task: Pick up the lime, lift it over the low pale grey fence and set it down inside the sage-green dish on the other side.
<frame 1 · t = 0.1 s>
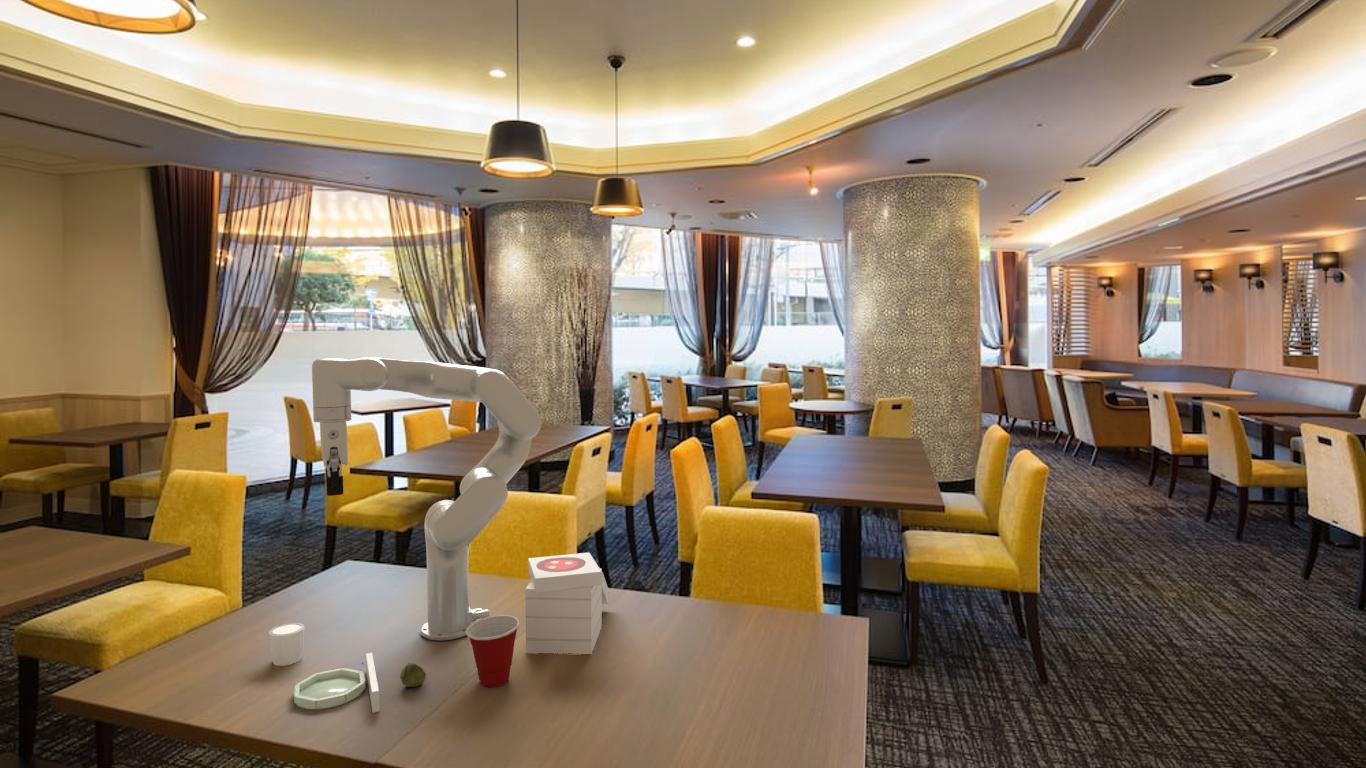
hand: (334, 490, 156), 37 cm above the table, tool pointing down, fingers open, 9 cm apart
plastic cup: (493, 681, 145), on the table
fence: (372, 690, 141), on the table
lime: (413, 687, 142), on the table
pizza boxes: (569, 630, 170), on the table
white cylinder: (288, 660, 154), on the table
dish: (330, 692, 140), on the table
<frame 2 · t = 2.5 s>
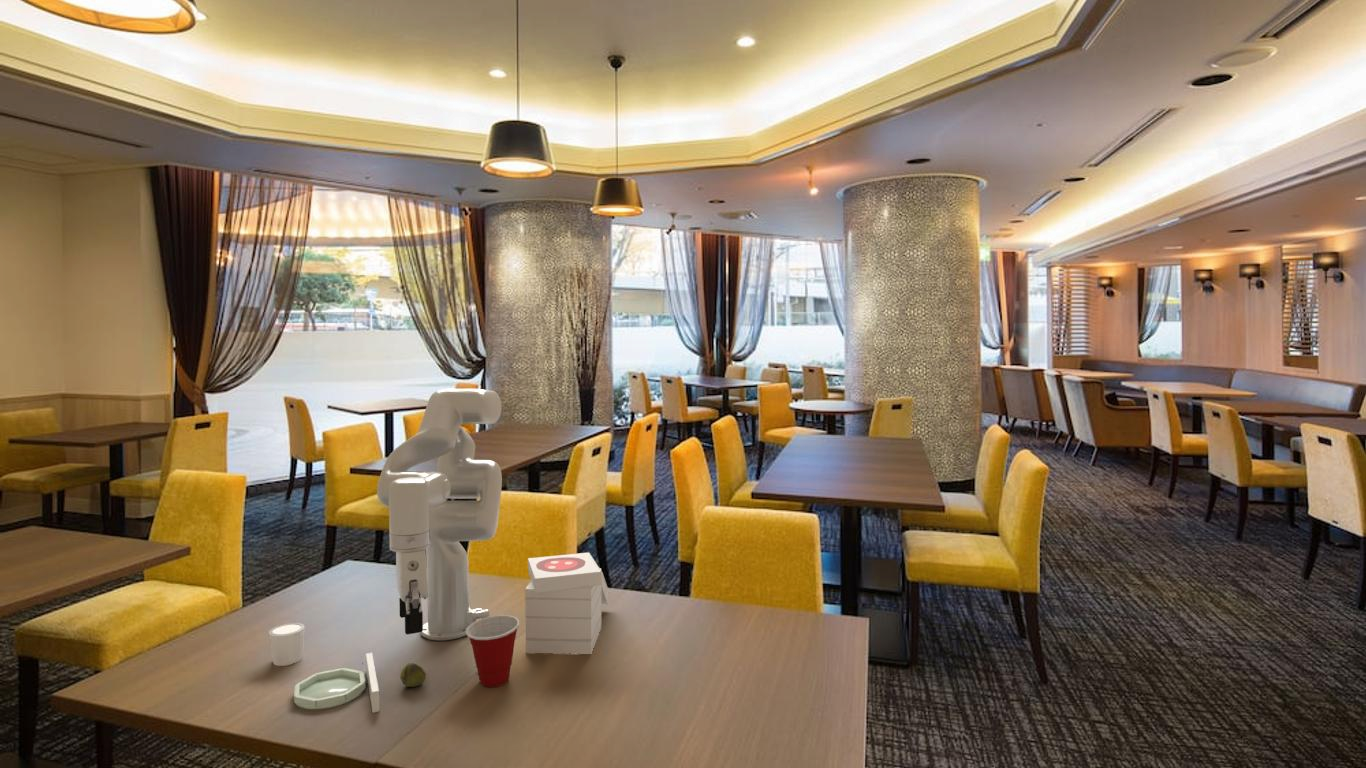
hand: (410, 624, 141), 13 cm above the table, tool pointing down, fingers open, 9 cm apart
nothing on the table moved.
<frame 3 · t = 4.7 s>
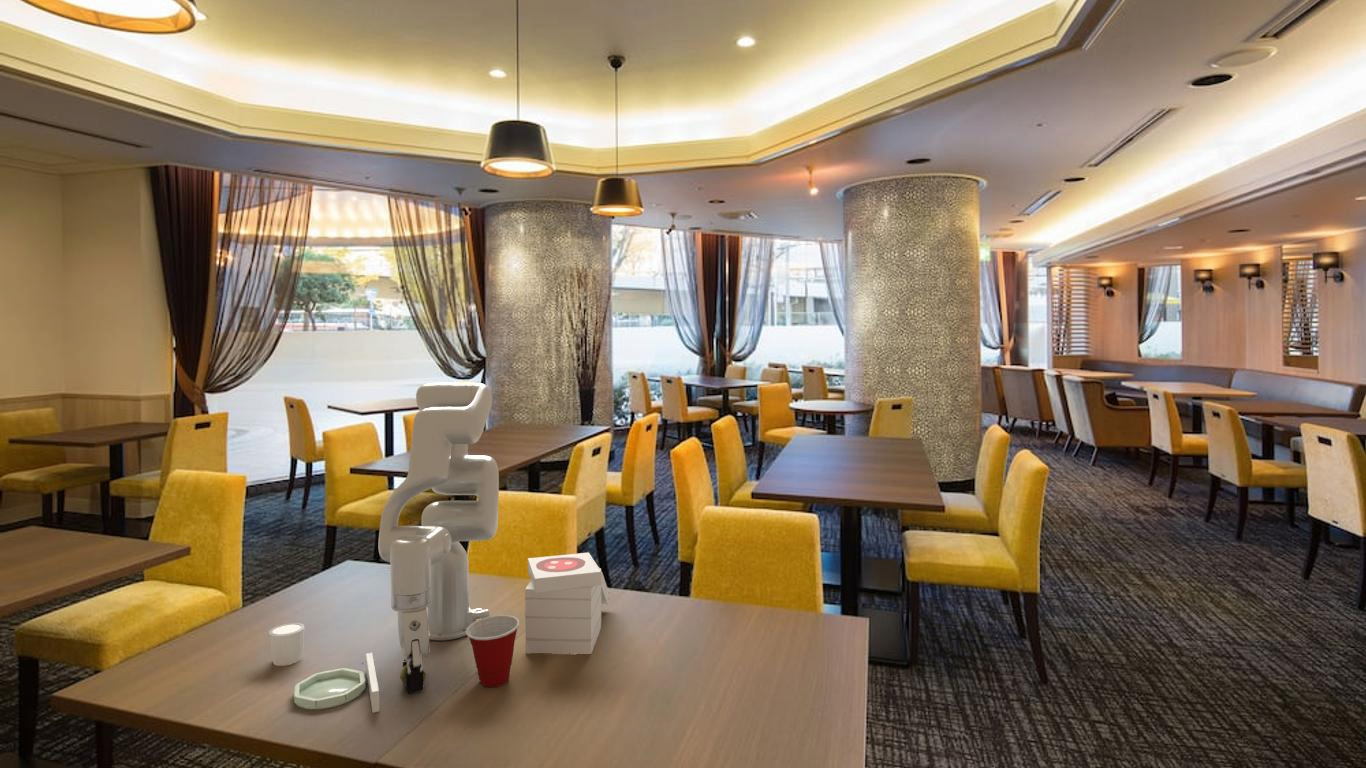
hand: (413, 684, 142), 0 cm above the table, tool pointing down, fingers closed on lime, 4 cm apart
lime: (413, 687, 142), on the table, touching gripper
everything else where it was.
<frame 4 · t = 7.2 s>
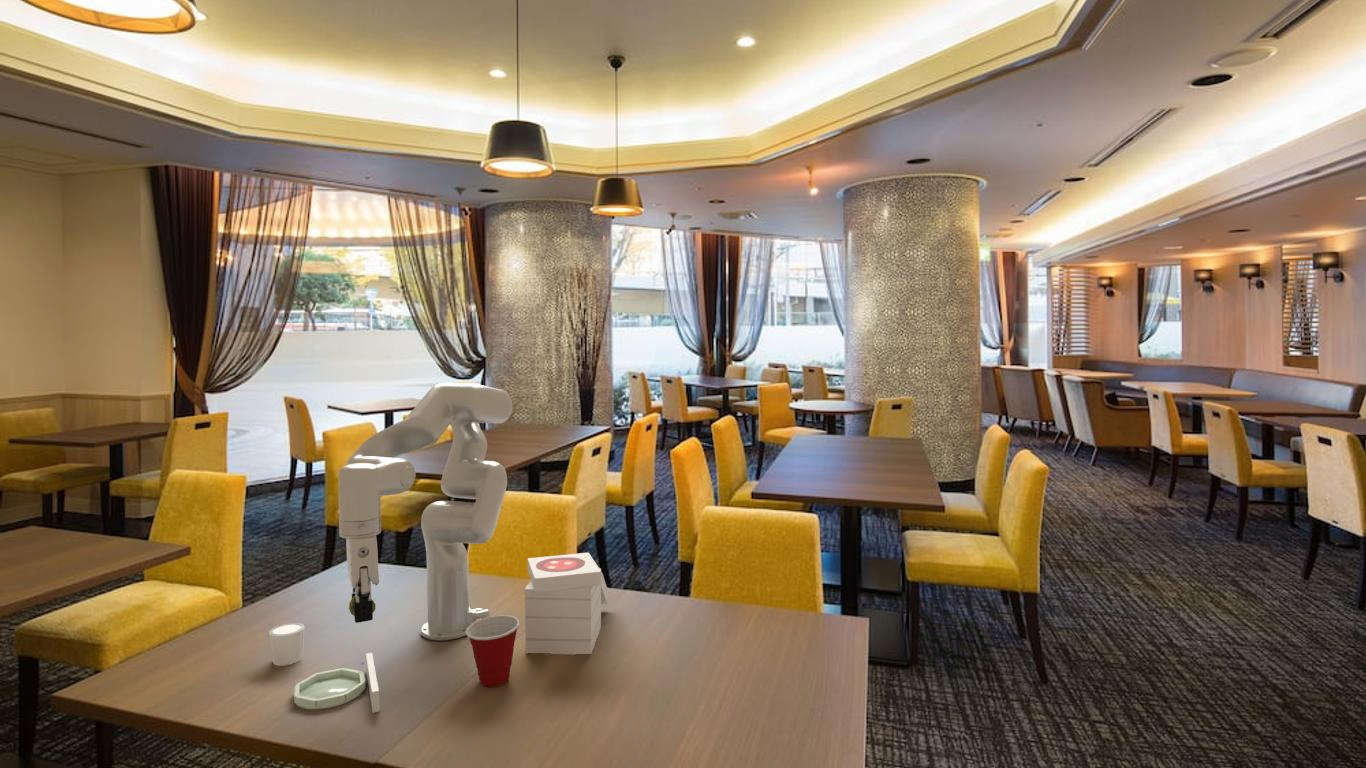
hand: (362, 615, 139), 15 cm above the table, tool pointing down, fingers closed on lime, 4 cm apart
lime: (362, 618, 139), point 15 cm above the table, touching gripper
everything else where it was.
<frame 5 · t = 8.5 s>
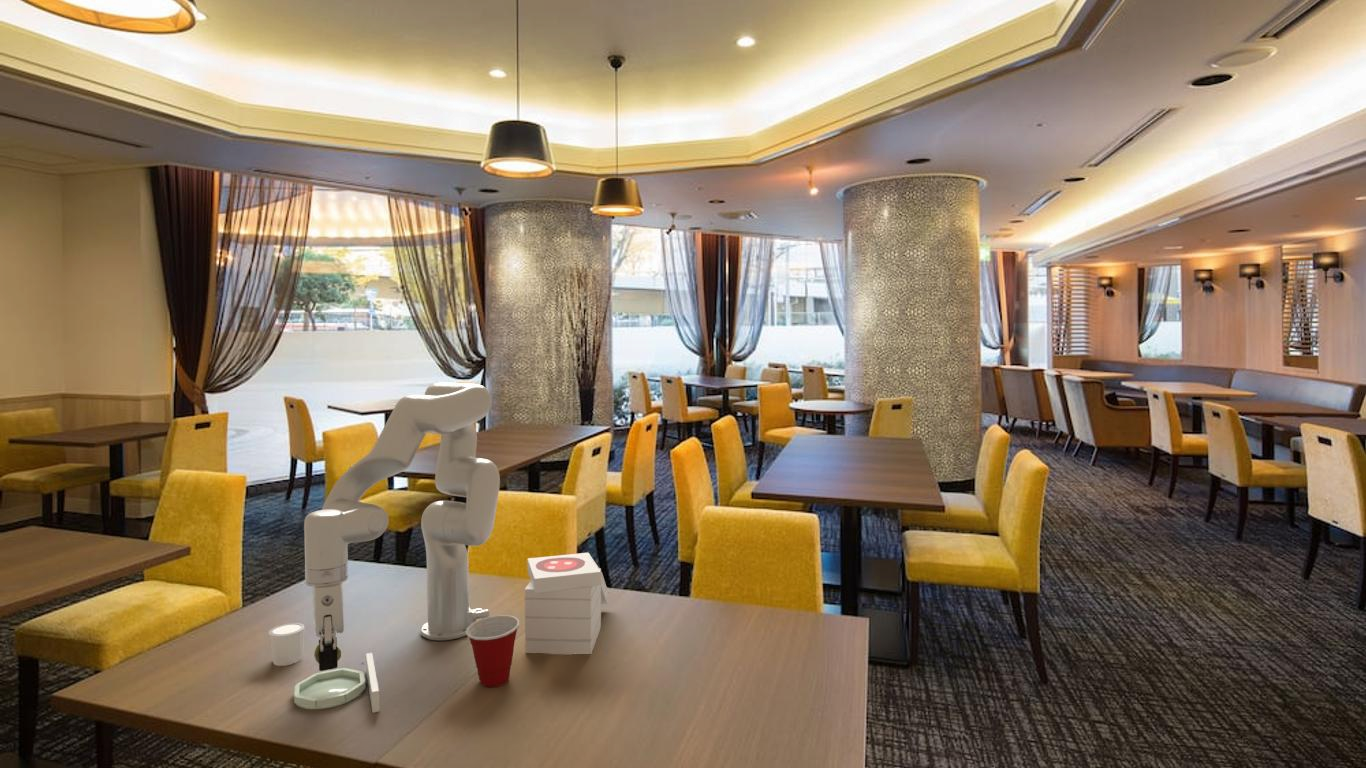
hand: (328, 662, 139), 6 cm above the table, tool pointing down, fingers closed on lime, 4 cm apart
lime: (328, 665, 139), point 6 cm above the table, touching gripper
everything else where it was.
when the fingers open (2 cm above the table, at t = 9.6 s): lime drops 1 cm, resting on dish.
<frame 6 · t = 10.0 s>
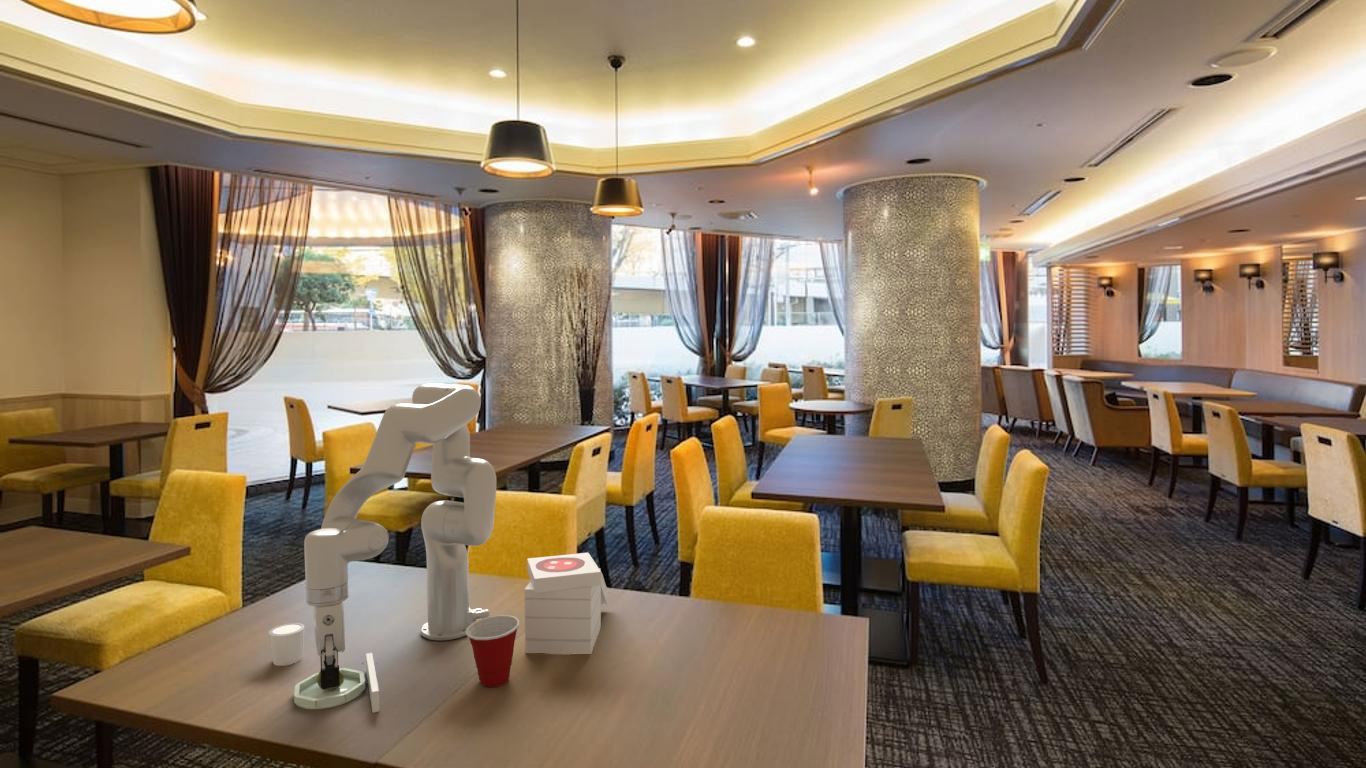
hand: (329, 676, 139), 3 cm above the table, tool pointing down, fingers open, 8 cm apart
lime: (330, 690, 140), resting on dish
everything else where it was.
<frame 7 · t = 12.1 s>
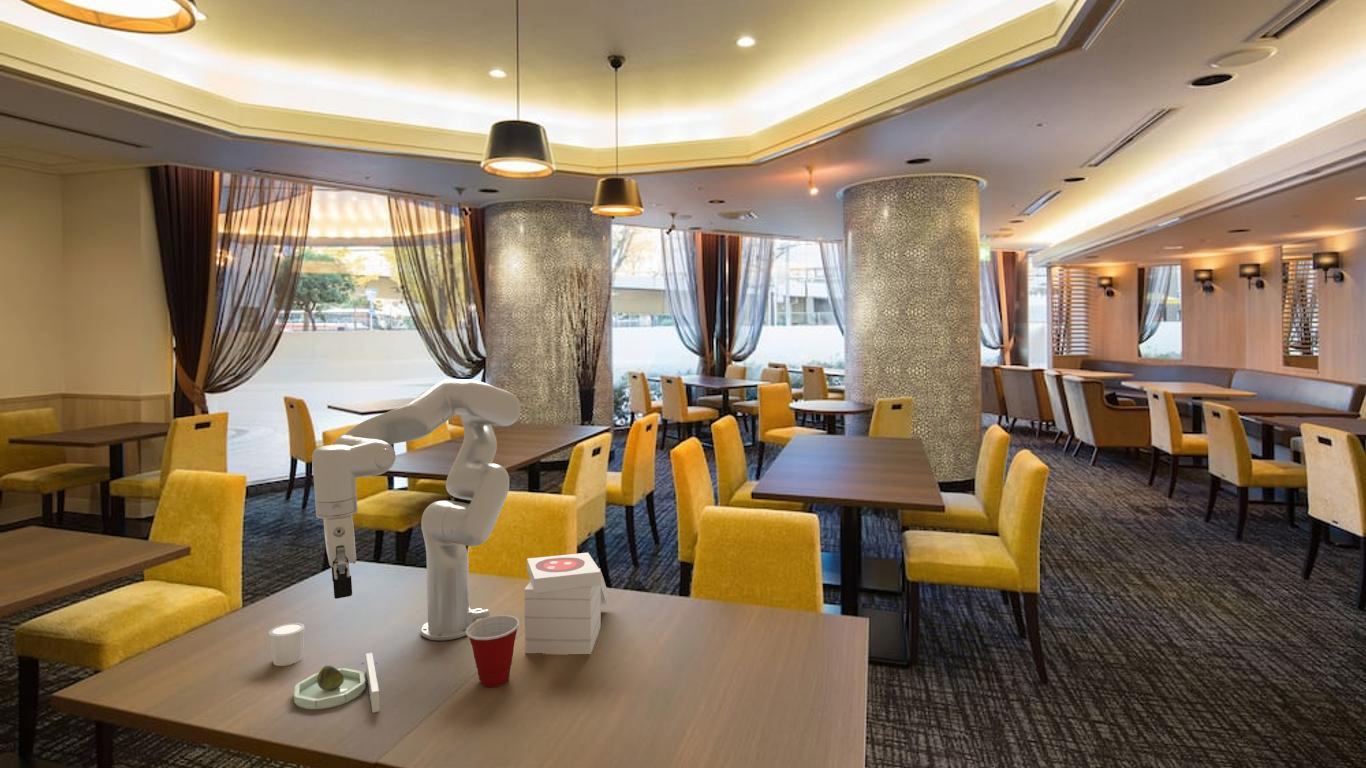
hand: (342, 588, 143), 20 cm above the table, tool pointing down, fingers open, 9 cm apart
nothing on the table moved.
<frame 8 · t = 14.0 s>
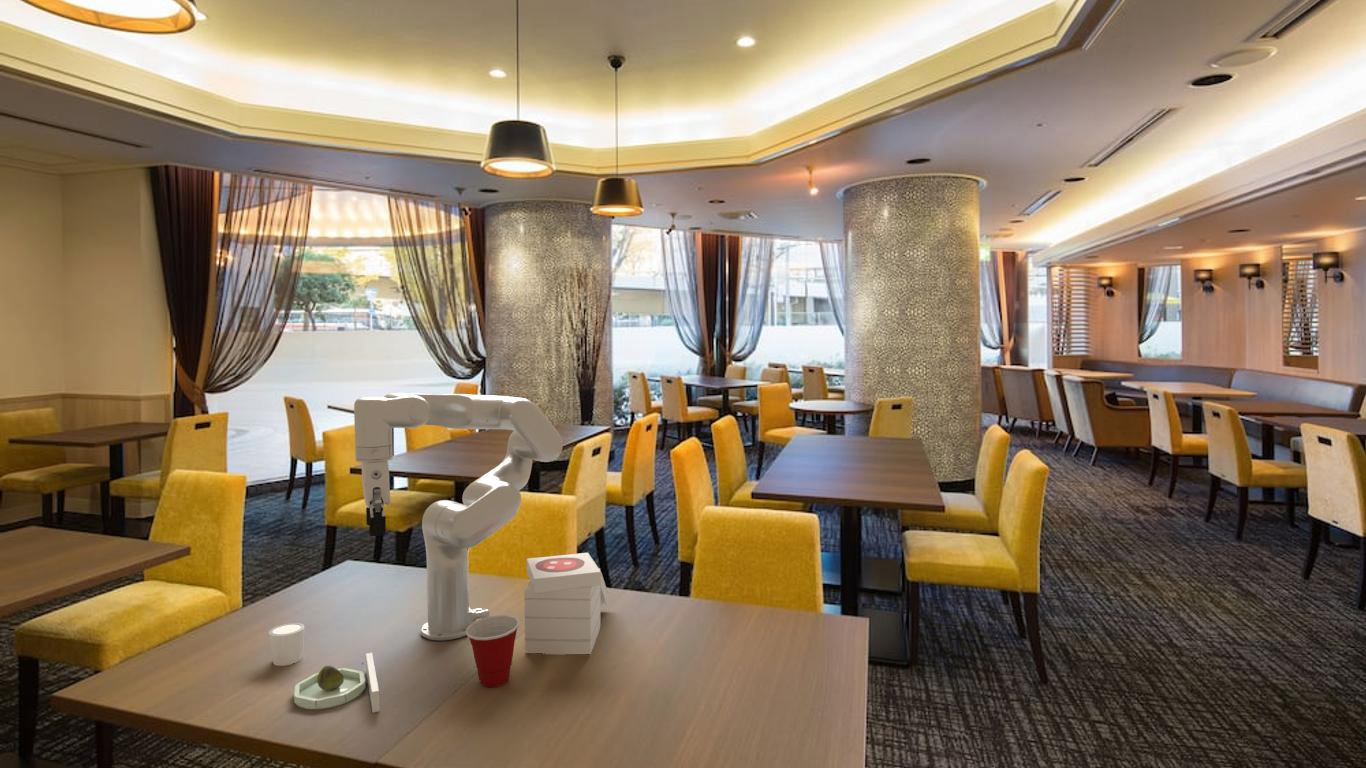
hand: (376, 529, 155), 28 cm above the table, tool pointing down, fingers open, 9 cm apart
nothing on the table moved.
at the end: lime inside the target area on the dish (0.2 cm from its centre), point 0.4 cm above the dish's base; the gripper is holding nothing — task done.
